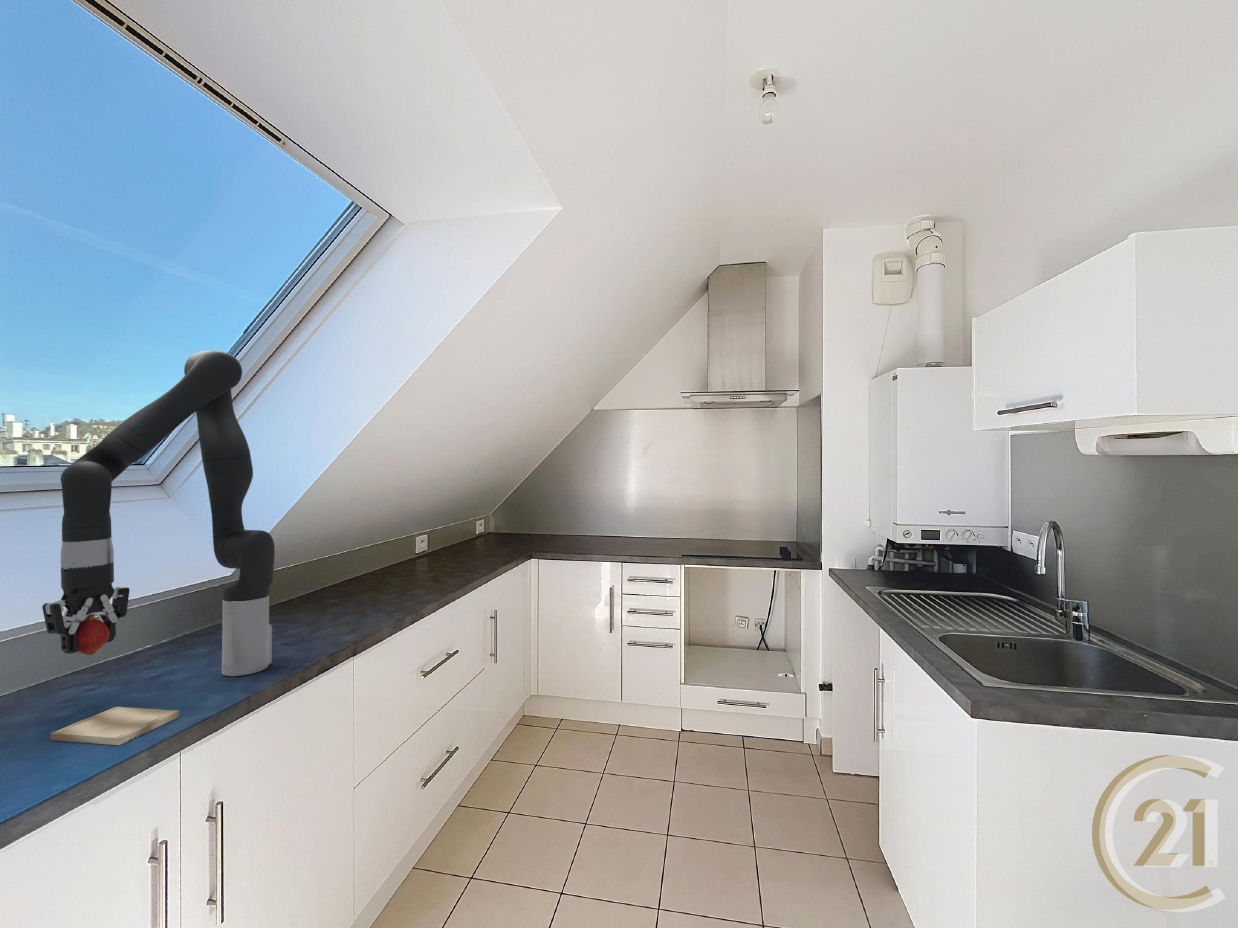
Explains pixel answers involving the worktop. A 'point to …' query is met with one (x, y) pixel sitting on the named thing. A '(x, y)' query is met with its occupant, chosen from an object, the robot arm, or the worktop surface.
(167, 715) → the board
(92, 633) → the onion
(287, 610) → the worktop surface
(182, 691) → the worktop surface
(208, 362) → the robot arm
